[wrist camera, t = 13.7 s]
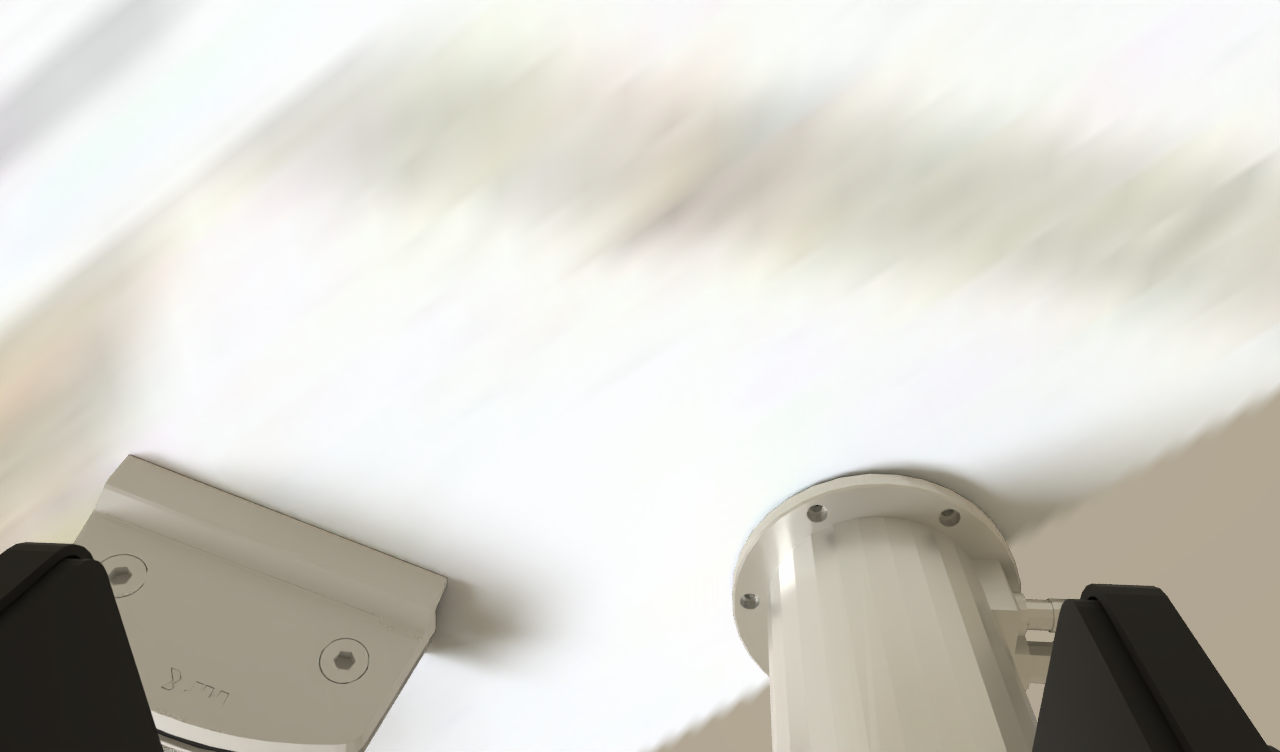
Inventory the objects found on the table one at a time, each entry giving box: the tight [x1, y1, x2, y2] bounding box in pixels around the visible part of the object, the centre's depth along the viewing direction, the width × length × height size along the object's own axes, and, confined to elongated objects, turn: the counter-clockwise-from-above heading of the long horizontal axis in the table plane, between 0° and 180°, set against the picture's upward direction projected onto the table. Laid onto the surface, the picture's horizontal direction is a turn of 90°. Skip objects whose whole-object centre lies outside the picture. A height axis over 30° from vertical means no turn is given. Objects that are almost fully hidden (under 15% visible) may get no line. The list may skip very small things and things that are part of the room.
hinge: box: [73, 455, 447, 752], centre depth 42 cm, size 17×5×10 cm, turn 68°
